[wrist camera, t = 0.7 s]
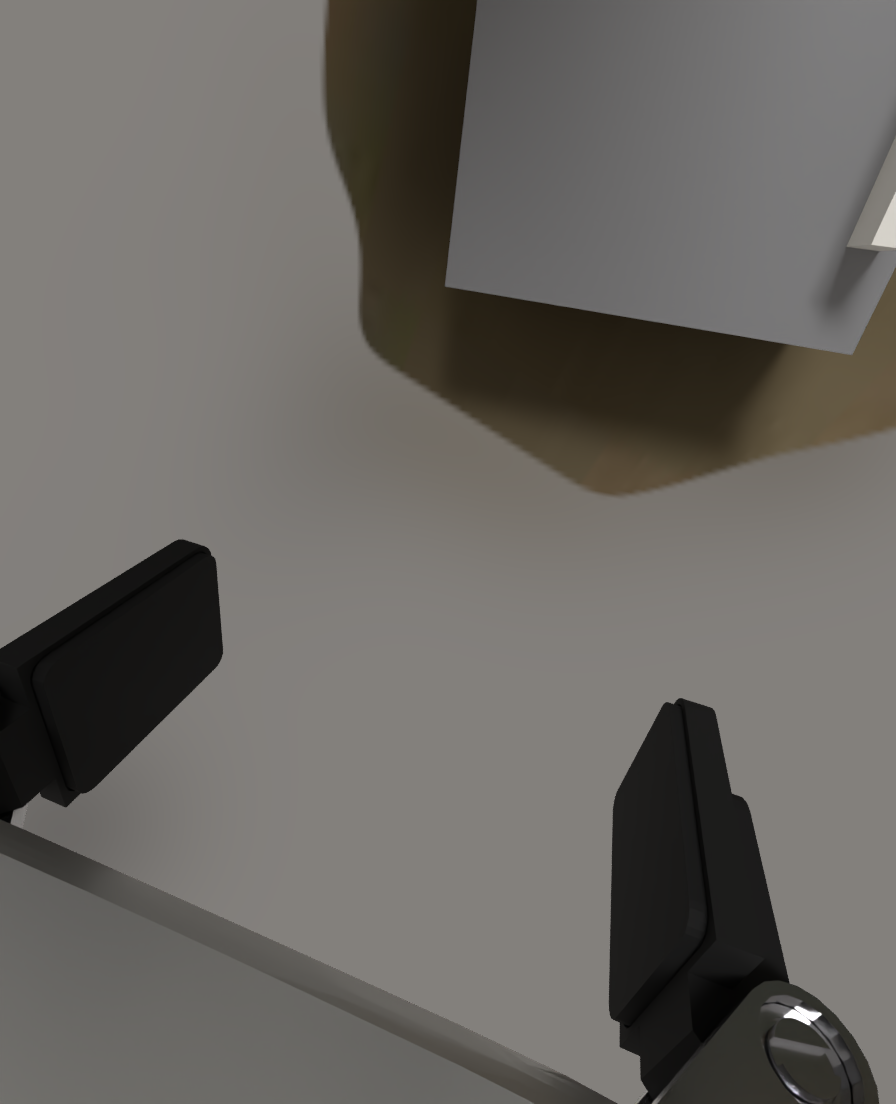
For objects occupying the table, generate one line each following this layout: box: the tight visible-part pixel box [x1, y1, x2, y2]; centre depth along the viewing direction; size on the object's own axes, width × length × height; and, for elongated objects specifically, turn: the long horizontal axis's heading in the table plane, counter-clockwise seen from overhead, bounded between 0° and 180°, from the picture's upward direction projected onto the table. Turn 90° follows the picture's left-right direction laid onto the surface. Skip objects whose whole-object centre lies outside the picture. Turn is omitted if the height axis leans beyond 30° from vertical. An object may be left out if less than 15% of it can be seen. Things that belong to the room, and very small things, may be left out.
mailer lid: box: [445, 0, 896, 355], centre depth 20 cm, size 16×18×4 cm
